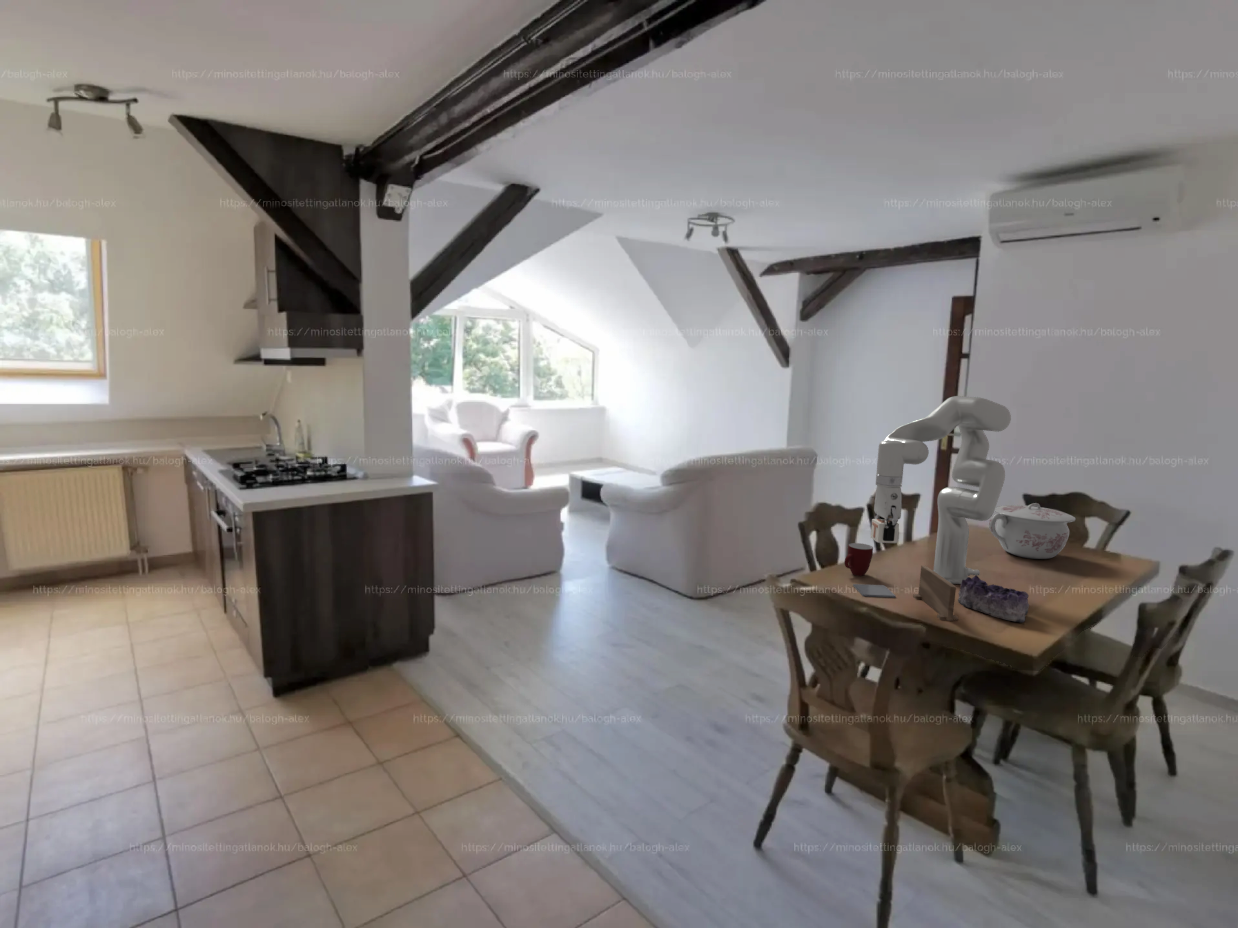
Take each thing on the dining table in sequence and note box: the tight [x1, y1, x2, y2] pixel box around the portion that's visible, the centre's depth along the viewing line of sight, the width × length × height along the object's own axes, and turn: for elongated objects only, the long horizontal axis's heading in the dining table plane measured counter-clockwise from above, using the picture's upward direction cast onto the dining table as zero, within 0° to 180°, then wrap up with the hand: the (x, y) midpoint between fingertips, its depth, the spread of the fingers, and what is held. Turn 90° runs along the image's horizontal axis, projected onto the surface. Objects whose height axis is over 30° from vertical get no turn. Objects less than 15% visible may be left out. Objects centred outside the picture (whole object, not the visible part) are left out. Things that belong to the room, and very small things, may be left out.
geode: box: [957, 575, 1030, 624], centre depth 198 cm, size 20×12×10 cm, turn 38°
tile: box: [852, 583, 896, 598], centre depth 213 cm, size 10×10×1 cm
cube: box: [870, 518, 900, 544], centre depth 208 cm, size 6×6×6 cm
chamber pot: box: [988, 502, 1076, 560], centre depth 262 cm, size 28×28×21 cm
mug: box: [844, 542, 874, 577], centre depth 230 cm, size 11×8×10 cm
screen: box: [912, 565, 959, 622], centre depth 199 cm, size 5×20×10 cm, turn 178°
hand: (884, 537), depth 209 cm, fingers closed on cube, 6 cm apart
